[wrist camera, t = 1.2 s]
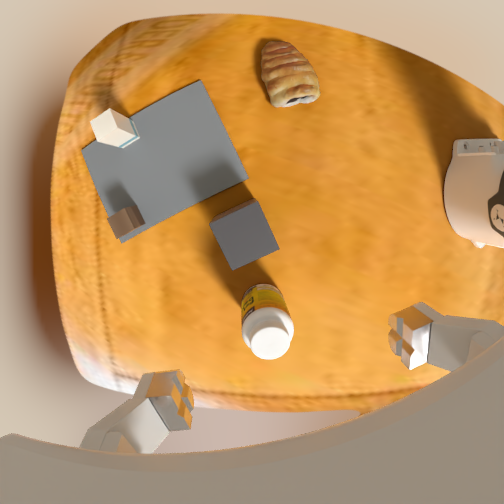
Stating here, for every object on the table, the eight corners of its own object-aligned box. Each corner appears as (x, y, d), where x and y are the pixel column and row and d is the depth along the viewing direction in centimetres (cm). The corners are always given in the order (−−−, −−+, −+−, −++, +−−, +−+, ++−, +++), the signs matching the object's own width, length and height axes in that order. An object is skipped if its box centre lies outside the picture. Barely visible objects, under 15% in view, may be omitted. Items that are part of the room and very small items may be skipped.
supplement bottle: (247, 277, 35) (251, 313, 25) (288, 287, 36) (306, 325, 26) (236, 315, 36) (235, 360, 26) (275, 324, 37) (287, 369, 27)
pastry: (248, 51, 28) (249, 38, 25) (296, 42, 28) (302, 29, 24) (272, 113, 31) (276, 104, 27) (322, 101, 30) (331, 92, 27)
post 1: (133, 120, 29) (109, 107, 22) (140, 137, 30) (117, 127, 23) (116, 131, 29) (89, 121, 23) (123, 148, 30) (97, 141, 23)
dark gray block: (254, 197, 33) (257, 201, 26) (271, 236, 34) (279, 249, 28) (214, 216, 33) (209, 224, 27) (233, 254, 34) (232, 270, 28)
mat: (201, 81, 29) (200, 80, 28) (248, 178, 32) (248, 178, 32) (82, 150, 30) (81, 150, 30) (122, 242, 33) (121, 243, 33)
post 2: (136, 204, 32) (124, 207, 28) (145, 223, 32) (134, 228, 29) (120, 214, 32) (106, 218, 28) (129, 232, 33) (116, 238, 29)
